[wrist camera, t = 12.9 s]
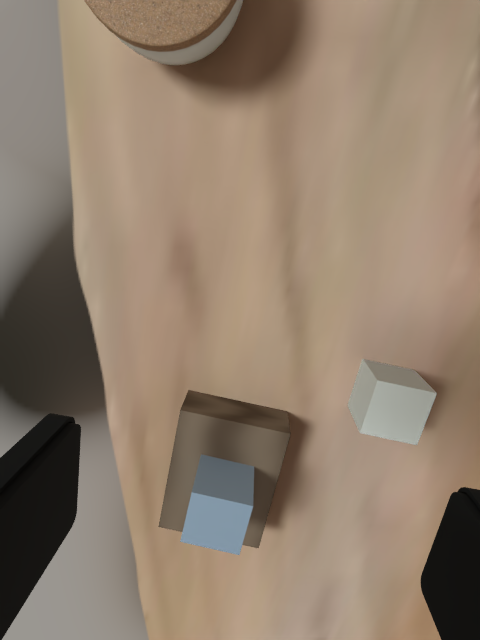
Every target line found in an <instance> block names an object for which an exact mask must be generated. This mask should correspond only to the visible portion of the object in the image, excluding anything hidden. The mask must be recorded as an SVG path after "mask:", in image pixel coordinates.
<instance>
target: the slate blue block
mask: <svg viewBox="0 0 480 640" xmlns="http://www.w3.org/2000/svg"><path fill="white" fill-rule="evenodd" d="M253 494H254V466H250V465H245V464H241V463H237V462H232V461H228V460H223V459H219V458H215V457H210V456H206V455H202V454H201V457H200V461H199V465H198V469H197V473H196V477H195V481H194V485H193V489H192V493H191V497H190V502H189V506H188V510H187V515H186V519H185V523H184V528H183V532H182V537H181V541H180V542H184V543H189V544H193V545H197V546H202V547H206V548H211V549H215V550H219V551H224V552H228V553H233V554H237V555H239V554H240V551H241V547H242V544H243V540H244V537H245V533H246V530H247V526H248V523H249V519H250V516H251V512H252V509H253Z"/></svg>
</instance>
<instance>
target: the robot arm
mask: <svg viewBox="0 0 480 640" xmlns="http://www.w3.org/2000/svg"><path fill="white" fill-rule="evenodd" d="M80 436H81V427H80V425H79V424H75V420H74V418H73V417H69V416H63V415H58V414H48V415H47V416H46V417H44V418H43V419H42V420H41V421H40V422H39V423H38V424H37V425H36V426H35V427H34V428H32V429H31V430H30V431H29V432H28V433H27V434H26V435H25V436H24V437H23V438H22V439H21V440H19V442H17V443H16V444H15V445H14V446H13V447H12V448H11V449H10V450H9V451H7V452H6V453H5V454H4V455H3V456H2V457H1V458H0V640H2V638H3V636H4V635H5V633H6V632H7V630H8V628H9V627H10V625H11V624H12V622H13V620H14V619H15V617H16V616H17V614H18V613H19V611H20V609H21V608H22V606H23V605H24V603H25V601H26V600H27V598H28V596H29V595H30V593H31V592H32V590H33V588H34V587H35V585H36V584H37V582H38V580H39V579H40V577H41V576H42V574H43V572H44V571H45V569H46V568H47V566H48V564H49V563H50V561H51V560H52V558H53V556H54V555H55V553H56V552H57V550H58V548H59V546H60V545H61V544H62V542H63V540H64V539H65V537H66V536H67V534H68V532H69V531H70V529H71V527H72V525H73V523H74V520H75V517H76V513H77V496H78V495H77V494H78V476H79V455H80ZM421 588H422V592H423V595H424V598H425V600H426V603H427V605H428V608H429V610H430V613H431V615H432V617H433V620H434V622H435V625H436V627H437V630H438V632H439V635H440V637H441V640H480V490H477V489H471V488H466V487H463V488H460V489H459V490H458V492H454V493H452V495H451V496H450V499H449V502H448V504H447V507H446V510H445V513H444V515H443V518H442V521H441V523H440V526H439V529H438V532H437V534H436V537H435V540H434V543H433V545H432V548H431V551H430V553H429V556H428V559H427V562H426V564H425V567H424V570H423V572H422V576H421Z"/></svg>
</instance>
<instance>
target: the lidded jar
mask: <svg viewBox="0 0 480 640" xmlns="http://www.w3.org/2000/svg"><path fill="white" fill-rule="evenodd" d="M85 2H86V3H87V5H88V6H89V8H90V9H91V10H92V12H93V13H94V14H95V16H96V17H97V18H98V19H99V20H100V21H101V22H102V23H103V24H104V25H105V26H106V27H107V28H108V29H109V30H110V31H111V32H112V33H114V34H115V35H116V36H117V37H118V38H119V39H120V40H121V41H122V42H123V43H124V44H125V45H127V46H128V47H129V48H131V49H132V50H133V51H135V52H136V53H138V54H139V55H141V56H143V57H145V58H147V59H149V60H152V61H155V62H158V63H161V64H167V65H185V64H189V63H193V62H196V61H198V60H201V59H203V58H205V57H206V56H208V55H209V54H211V53H212V52H213V51H215V50H216V49H217V48H218V47H219V46H220V45H221V44H222V43H223V41H224V40H225V39H226V38H227V36H228V35H229V33H230V32H231V30H232V28H233V26H234V25H235V22H236V20H237V17H238V15H239V12H240V10H241V7H242V3H243V0H85Z"/></svg>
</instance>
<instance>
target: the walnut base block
mask: <svg viewBox="0 0 480 640" xmlns="http://www.w3.org/2000/svg"><path fill="white" fill-rule="evenodd" d="M290 434H291V433H290V426H289V418H288V412H287V411H282V410H277V409H273V408H268V407H264V406H259V405H254V404H250V403H245V402H240V401H236V400H231V399H227V398H222V397H217V396H213V395H208V394H203V393H199V392H194V391H190V390H188V393H187V395H186V398H185V400H184V403H183V405H182V407H181V410H180V415H179V420H178V426H177V431H176V436H175V442H174V447H173V452H172V458H171V463H170V468H169V474H168V479H167V484H166V490H165V495H164V501H163V506H162V511H161V517H160V522H159V527H162V528H166V529H171V530H176V531H180V532H183V528H184V523H185V519H186V515H187V510H188V506H189V502H190V497H191V493H192V489H193V485H194V481H195V477H196V473H197V469H198V465H199V461H200V457H201V454H202V455H206V456H210V457H215V458H219V459H223V460H228V461H232V462H237V463H241V464H245V465H250V466H254V494H253V509H252V512H251V516H250V519H249V523H248V526H247V530H246V533H245V537H244V540H243V544H242V545H246V546H250V547H255V548H259V545H260V541H261V538H262V534H263V531H264V527H265V523H266V520H267V516H268V513H269V509H270V506H271V502H272V498H273V495H274V491H275V488H276V484H277V481H278V477H279V473H280V470H281V466H282V463H283V459H284V456H285V452H286V448H287V445H288V441H289V438H290Z"/></svg>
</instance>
